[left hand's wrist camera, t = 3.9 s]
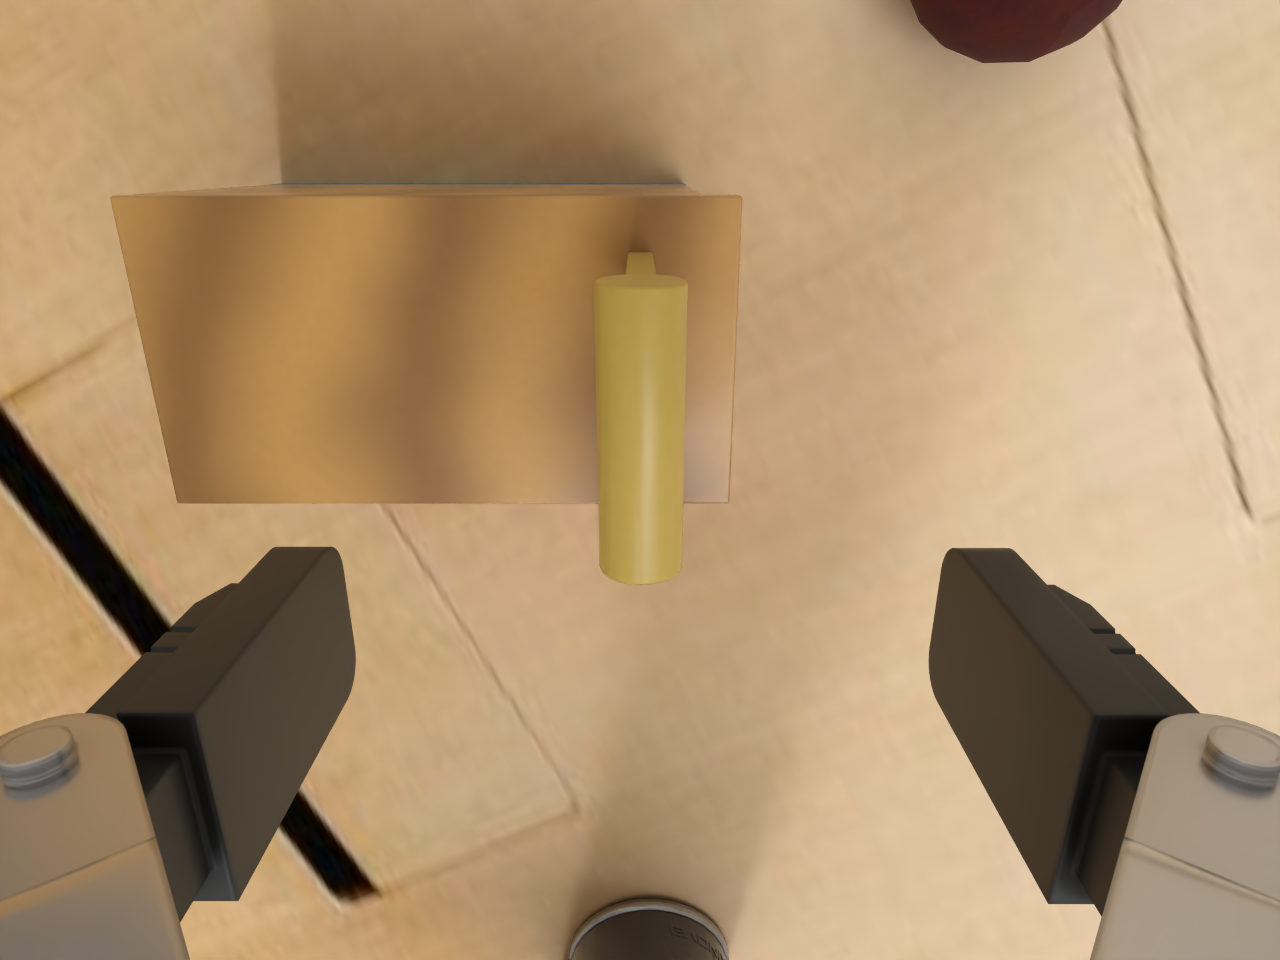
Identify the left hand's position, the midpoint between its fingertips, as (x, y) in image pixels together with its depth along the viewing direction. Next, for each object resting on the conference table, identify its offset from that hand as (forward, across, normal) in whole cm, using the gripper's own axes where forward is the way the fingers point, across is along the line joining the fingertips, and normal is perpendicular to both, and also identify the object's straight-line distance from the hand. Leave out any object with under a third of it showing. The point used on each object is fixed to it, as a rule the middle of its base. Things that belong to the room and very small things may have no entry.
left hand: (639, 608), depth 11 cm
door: (+15, +6, 0) cm, 16 cm away
